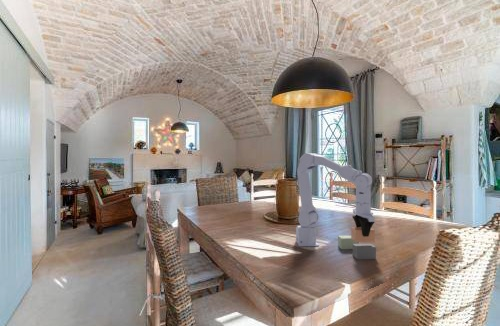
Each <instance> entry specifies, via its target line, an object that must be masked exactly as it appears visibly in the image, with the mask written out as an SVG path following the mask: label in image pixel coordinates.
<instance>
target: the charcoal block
mask: <svg viewBox="0 0 500 326" xmlns="http://www.w3.org/2000/svg"><path fill="white" fill-rule="evenodd" d="M352 256H353V257H354V259H356V260H376V259H377V247H376V246H375V245H374V244H373V243H359V244H353V249H352Z"/></svg>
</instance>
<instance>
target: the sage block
mask: <svg viewBox="0 0 500 326" xmlns="http://www.w3.org/2000/svg"><path fill="white" fill-rule="evenodd" d="M353 244H360V242H355V241H354V240H352V239H351V234H350V235H337V247H338V248H340V250H353Z"/></svg>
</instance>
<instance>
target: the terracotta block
mask: <svg viewBox="0 0 500 326" xmlns="http://www.w3.org/2000/svg"><path fill="white" fill-rule="evenodd" d="M350 229H351V230H350V233H351V234H350V235H351V239H352V240H354V241H355V242H359V243H371V242H372V243H373V242H375V238H376V237H375V236H376V235H375V234H376V233H375V232H376V230H375V229H374V228H372V227H371V230H370V233H369V236H365V237H364V236H363V234H362V227H356V226H351V228H350Z"/></svg>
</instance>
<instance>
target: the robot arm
mask: <svg viewBox="0 0 500 326" xmlns="http://www.w3.org/2000/svg"><path fill="white" fill-rule="evenodd" d="M298 160H299V161H298V162H299V163H298V166H297V169H296V173H297V180H298V189H299V196H300V198H299V199H300V204H301V205H300V206H301V207H300V209H299V211H298V213H299V214H298V219H297V220H298V223H299V225H296V227H295V242H296V244H297V245H298V247H319V246H320V245H319V243H318V242H317V222H318V221H319V213H318V212H317V210H316V207H315V206H314V205H313V197H312V196H313V195H312V189H311V182H310V180H311V179H310V173H311V171H312V170H313V169H314V168H316V167H318V166H323V167H326V168H328V169H329V170H332V171H334V172H336V173H337V174H338V176H339V177H340V178H343V179H344V180H346V181H349V182H350V183H352V184H354V185H355V208H353V209H352V214H355V215H352V216H351V217H352V219H353V220H354V224H355V227H362V234H363V236H364V237H365V236H369V233H370V230H371V228H372V227H373V226H374V224H375V221H376V220H375V219H376V218H375V216H374V212H372V209H371V206H372V205H371V203H372V202H371V201H372V199H371V198H372V192H371V189H372V188H371V185H372V183H373V177H372V176H371V175H370V174H369V173H367V172H363V171H362V170H358V169H355V168H353V167H352V165H351V164H348V165H347V164H344V165H341V164H339V163H337V162H335V161H333V160H331V159H330V158H328V157H326V156H325V155H323V154H319V153H309V152H307V153H304V154H302V155H301V157H299V159H298Z"/></svg>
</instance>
